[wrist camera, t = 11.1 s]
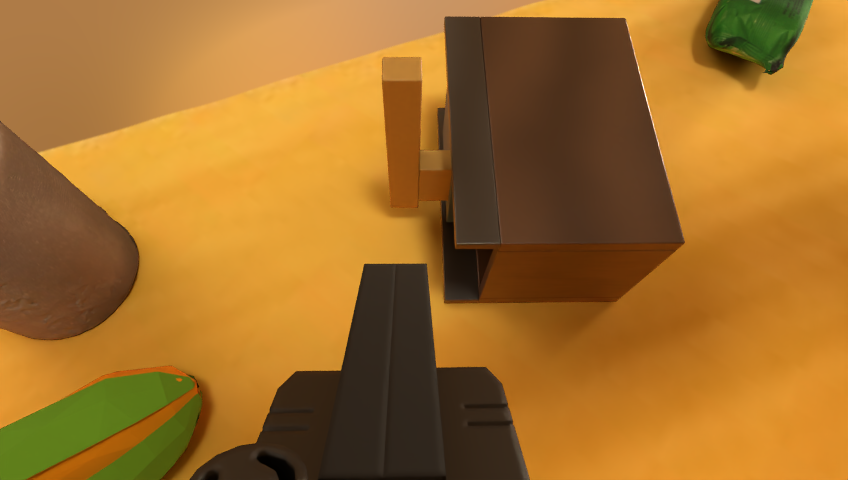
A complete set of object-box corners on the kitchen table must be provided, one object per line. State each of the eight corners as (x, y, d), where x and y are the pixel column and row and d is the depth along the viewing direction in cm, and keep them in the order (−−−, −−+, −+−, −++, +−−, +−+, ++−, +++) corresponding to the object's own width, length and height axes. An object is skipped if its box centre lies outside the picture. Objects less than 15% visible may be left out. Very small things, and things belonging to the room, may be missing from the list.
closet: (580, 113, 43) (625, 17, 34) (616, 301, 36) (685, 243, 27) (437, 113, 43) (444, 15, 34) (444, 303, 36) (456, 244, 27)
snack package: (682, 65, 46) (713, 18, 41) (731, -32, 52) (764, -82, 47) (758, 98, 45) (800, 54, 40) (800, -5, 50) (841, -55, 46)
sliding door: (452, 132, 41) (471, -22, 28) (457, 222, 37) (481, 91, 25) (392, 132, 41) (384, -23, 28) (391, 222, 37) (381, 91, 24)
